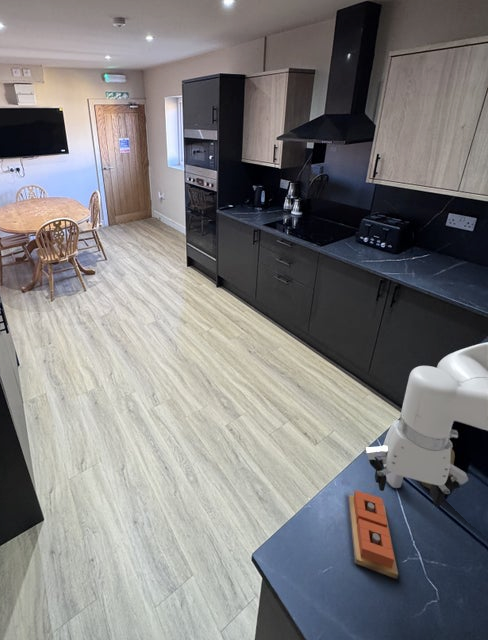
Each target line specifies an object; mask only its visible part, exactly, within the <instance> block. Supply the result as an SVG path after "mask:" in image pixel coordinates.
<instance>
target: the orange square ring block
mask: <svg viewBox="0 0 488 640" xmlns="http://www.w3.org/2000/svg"><path fill="white" fill-rule="evenodd" d="M389 531H390V529H389V530H388V528H385V527H382V526H379V525H376V524H373V523H370V522H367V521H365V520H362V519H359V520H358V524H357V533H358V541H359V549H360V557H362V558H365V559H367V560H370V561H373V562H375V563H378V564H381V565H384V566H386V567H389V568H392V566H393V562H394V556H395V555H394V556H393V551H394V550H393V551H392V546H393V545H392V546H391V541H392V540H391V541H390V536H391V535H390V536H389ZM373 533H376V534H378V535H379V537H380V541H379V545H377V544H374V543H371V542H370V540H372V536H373Z"/></svg>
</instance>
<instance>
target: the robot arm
mask: <svg viewBox="0 0 488 640" xmlns="http://www.w3.org/2000/svg"><path fill="white" fill-rule="evenodd" d="M405 388H406V389H405V393H404V398H403V402H402V407H401V412H400V415H399V419H395V420H394V421H393V422H392V424H391V425H390V427H389V428H388V431H387V433H386V436H385V438H384V441H383V444H382V445H377V446H367V447H364V453H365V456H366V458H367V460H368V461H369V464H370V466H371V467H372V468H373V469H374V470H375V473H374V481H375V483H377V484H378V489H379V491H381V492H383V491H385V487H386V483H387V481H386V479H387V478H386V474H389V473H391V472H392V473H394V474H397V475H400V476H403V478H407V479H411V480H414V481H418V482H420V481H422V482H426V483H430V484H432V485H431V489H429V493H430V496H431V498H432V502H433V504H434V506H435V507H437V508H440V507H441V504H442V502H444V500H445V498H446V495H449V494H450V493H451V491H453V490H456V489H459V488H460V489H461V485H464V484H466V483H467V482H469V478H468V476H467V475H468V474H467V473H466V472H465V471H464V470H462V469H460V468H459V467H457V466H456V465H454V464H453V465H452V464H451V463H450V456H451V451H450V442H449V440H450V439H453V438H454V439H458V438H459V432H458V430H457V429H453V424H454V422H458V423H461V424H465V425H468V426H471V427H474V428H477V429H480V430H484V431H487V432H488V341H487V342H481V343H478V344H475V345H474V344H473V345H471V346H467V347H465V348H461V349H459V350H456V351H454V352H451V353H449V354H447V355H446V356H444V357H442V359H441V360H440V361H438V363H437V366H436V367H435V366H431V365H419V366H416V367H414V368H413V369H412V370H411V371H410V373H409V376H408V381H407V384H406V387H405ZM377 457H378V458H377ZM384 464H386V466H385V467H384ZM449 473H450V474H452V475H450V476H448V474H449Z"/></svg>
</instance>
